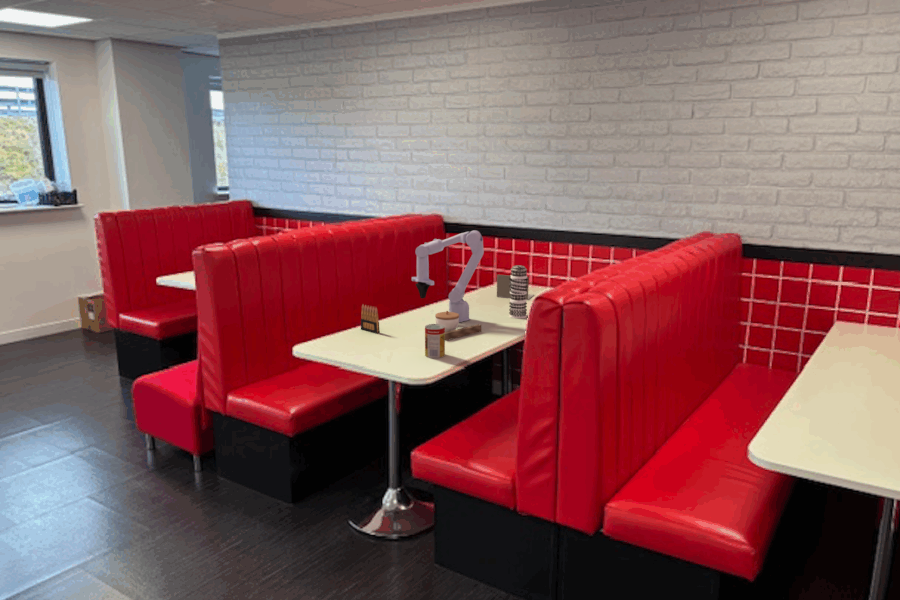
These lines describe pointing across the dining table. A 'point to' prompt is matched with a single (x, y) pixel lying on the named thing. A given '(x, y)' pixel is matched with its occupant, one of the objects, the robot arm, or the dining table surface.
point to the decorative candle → (518, 291)
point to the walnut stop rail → (462, 332)
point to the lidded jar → (448, 320)
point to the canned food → (434, 341)
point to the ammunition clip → (369, 319)
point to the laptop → (507, 287)
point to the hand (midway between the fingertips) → (422, 297)
